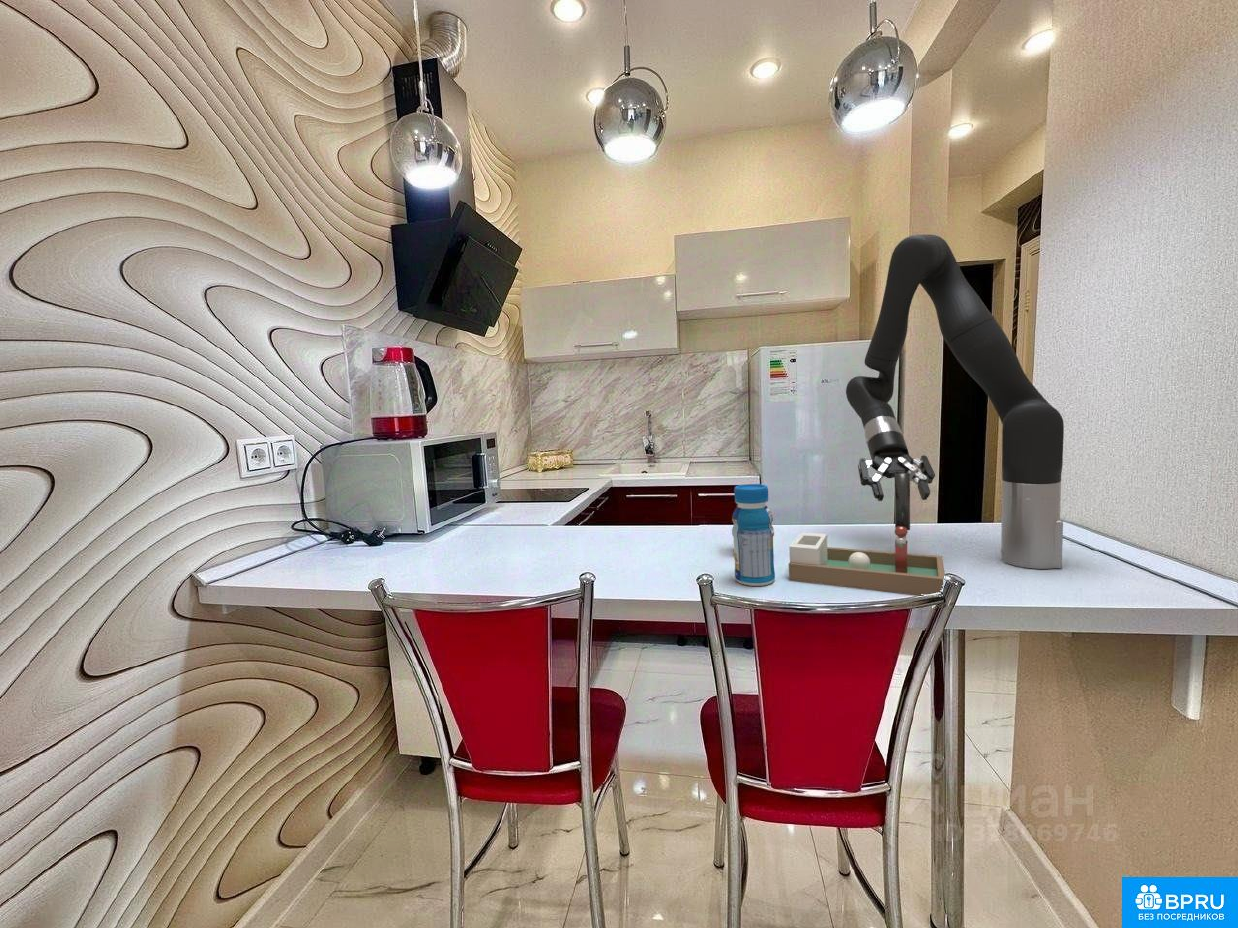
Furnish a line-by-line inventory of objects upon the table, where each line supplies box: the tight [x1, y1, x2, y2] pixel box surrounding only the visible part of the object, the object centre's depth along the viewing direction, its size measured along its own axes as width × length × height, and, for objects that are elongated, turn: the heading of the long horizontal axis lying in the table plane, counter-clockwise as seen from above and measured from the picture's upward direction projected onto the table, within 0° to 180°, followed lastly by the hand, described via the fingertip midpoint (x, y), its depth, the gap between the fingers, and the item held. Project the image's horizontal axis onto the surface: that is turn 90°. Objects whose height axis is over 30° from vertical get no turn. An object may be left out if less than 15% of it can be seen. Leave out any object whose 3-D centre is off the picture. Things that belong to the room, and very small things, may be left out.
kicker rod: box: [894, 472, 911, 573], centre depth 100 cm, size 3×13×19 cm, turn 148°
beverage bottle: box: [731, 483, 776, 587], centre depth 102 cm, size 8×8×20 cm
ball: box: [849, 552, 870, 570], centre depth 101 cm, size 4×4×4 cm
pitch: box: [788, 532, 946, 596], centre depth 100 cm, size 27×14×7 cm, turn 59°
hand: (903, 498), depth 103 cm, fingers open, 8 cm apart
